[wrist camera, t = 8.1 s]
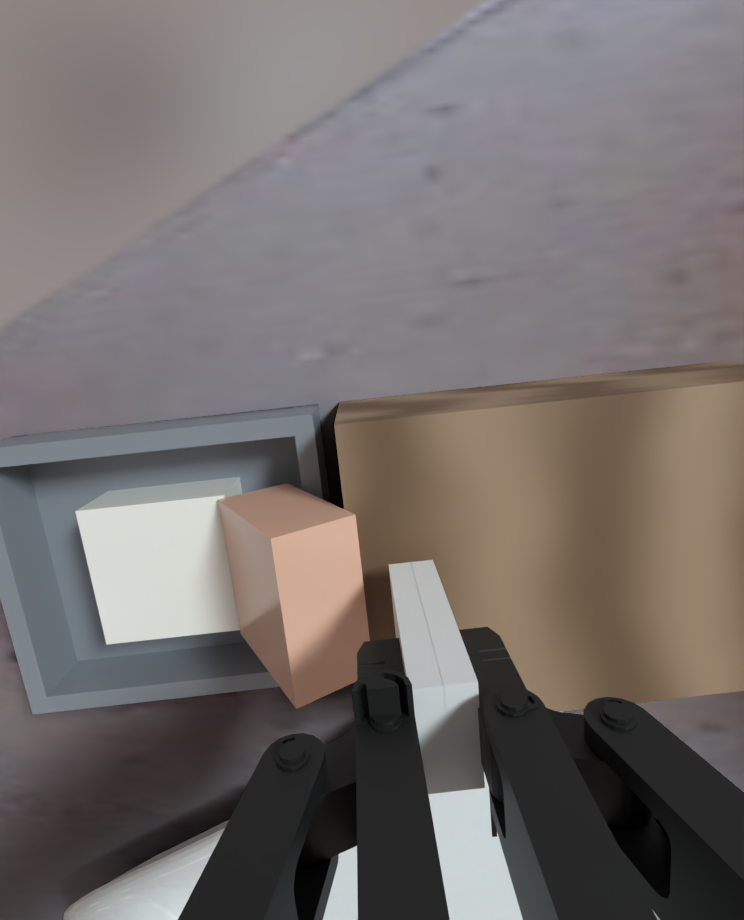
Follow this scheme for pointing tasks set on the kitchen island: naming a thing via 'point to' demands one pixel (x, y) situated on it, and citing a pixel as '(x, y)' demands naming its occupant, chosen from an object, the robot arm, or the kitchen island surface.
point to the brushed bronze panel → (567, 523)
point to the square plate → (460, 853)
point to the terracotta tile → (297, 587)
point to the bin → (65, 565)
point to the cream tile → (160, 560)
